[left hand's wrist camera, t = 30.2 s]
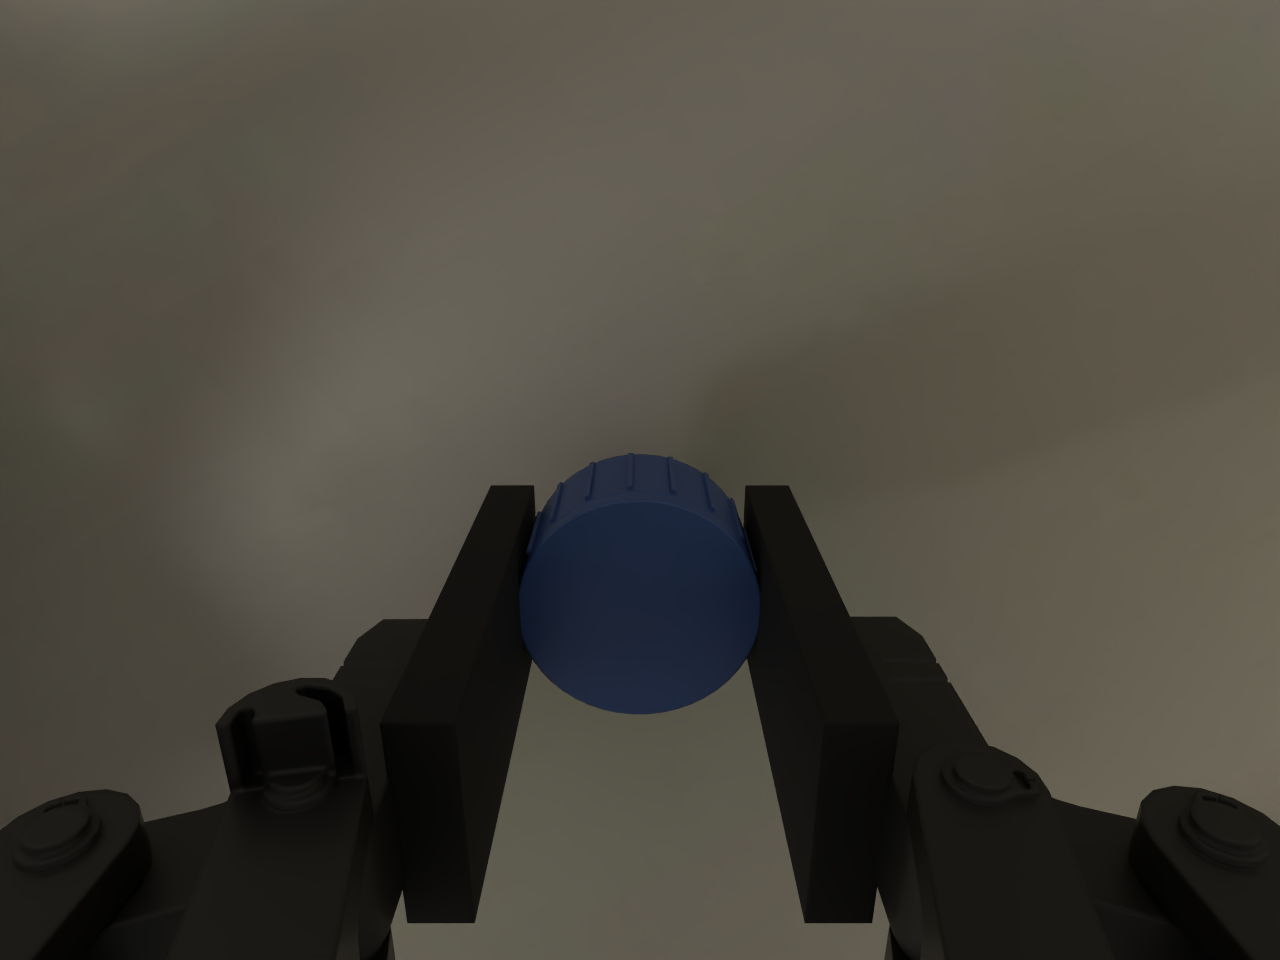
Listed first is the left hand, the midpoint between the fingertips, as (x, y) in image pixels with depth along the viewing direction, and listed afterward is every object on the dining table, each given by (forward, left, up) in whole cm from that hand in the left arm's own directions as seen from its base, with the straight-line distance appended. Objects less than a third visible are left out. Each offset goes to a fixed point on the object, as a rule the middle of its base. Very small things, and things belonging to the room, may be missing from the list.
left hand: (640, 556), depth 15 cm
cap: (0, 0, +2) cm, 2 cm away
